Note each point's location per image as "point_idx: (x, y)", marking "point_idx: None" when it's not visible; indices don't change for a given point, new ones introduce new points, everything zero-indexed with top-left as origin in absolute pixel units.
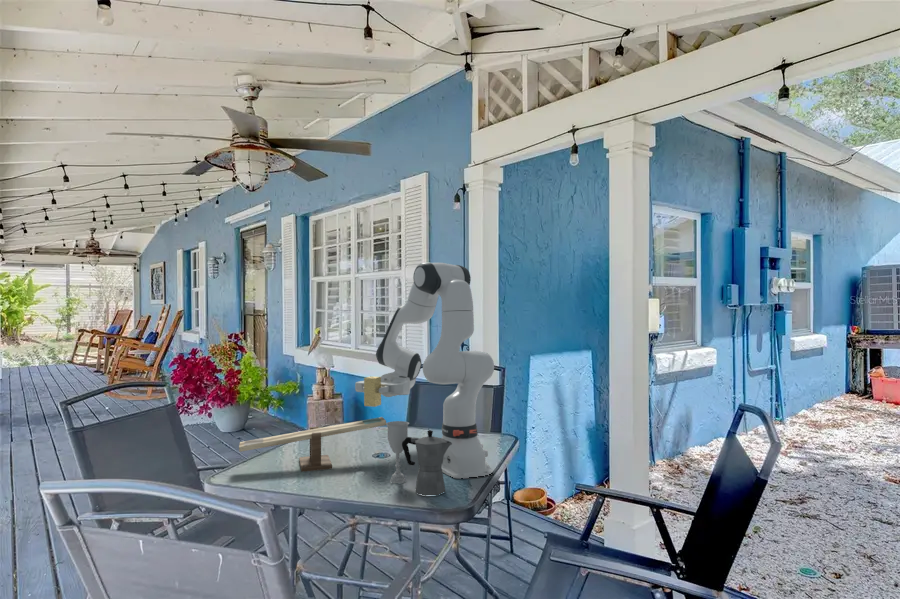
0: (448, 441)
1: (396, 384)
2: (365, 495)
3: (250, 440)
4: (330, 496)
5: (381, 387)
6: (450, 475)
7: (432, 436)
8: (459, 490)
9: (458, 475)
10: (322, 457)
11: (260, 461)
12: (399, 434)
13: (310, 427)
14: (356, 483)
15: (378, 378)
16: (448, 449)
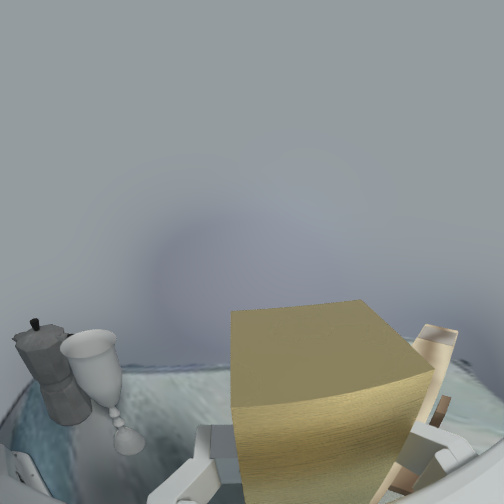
0: (14, 338)
1: (37, 494)
2: (164, 387)
3: (452, 336)
4: (214, 373)
5: (207, 453)
6: (33, 463)
7: (33, 331)
8: (32, 415)
9: (20, 452)
10: (400, 473)
11: (472, 398)
12: (89, 352)
13: (445, 396)
14: (205, 419)
15: (231, 366)
16: (7, 464)
